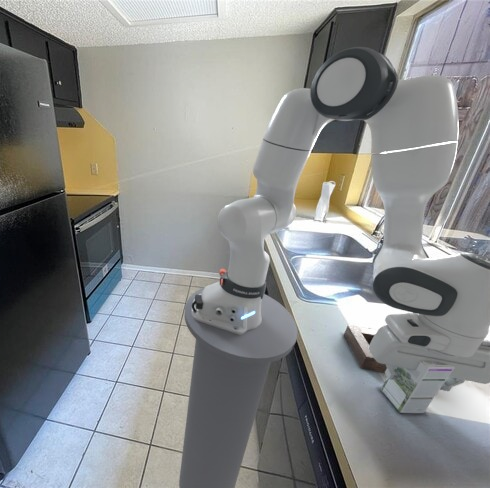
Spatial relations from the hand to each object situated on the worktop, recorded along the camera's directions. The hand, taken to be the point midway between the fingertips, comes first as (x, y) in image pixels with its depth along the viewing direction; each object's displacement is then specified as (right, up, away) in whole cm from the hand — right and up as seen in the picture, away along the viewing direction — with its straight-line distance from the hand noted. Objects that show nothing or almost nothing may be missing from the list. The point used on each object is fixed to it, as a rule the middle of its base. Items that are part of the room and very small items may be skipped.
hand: (415, 382), depth 56 cm
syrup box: (0, -6, +3) cm, 7 cm away
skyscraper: (+55, +47, +127) cm, 146 cm away
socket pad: (+4, -1, +15) cm, 16 cm away
